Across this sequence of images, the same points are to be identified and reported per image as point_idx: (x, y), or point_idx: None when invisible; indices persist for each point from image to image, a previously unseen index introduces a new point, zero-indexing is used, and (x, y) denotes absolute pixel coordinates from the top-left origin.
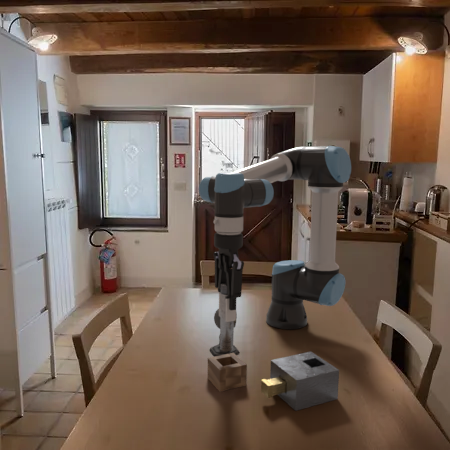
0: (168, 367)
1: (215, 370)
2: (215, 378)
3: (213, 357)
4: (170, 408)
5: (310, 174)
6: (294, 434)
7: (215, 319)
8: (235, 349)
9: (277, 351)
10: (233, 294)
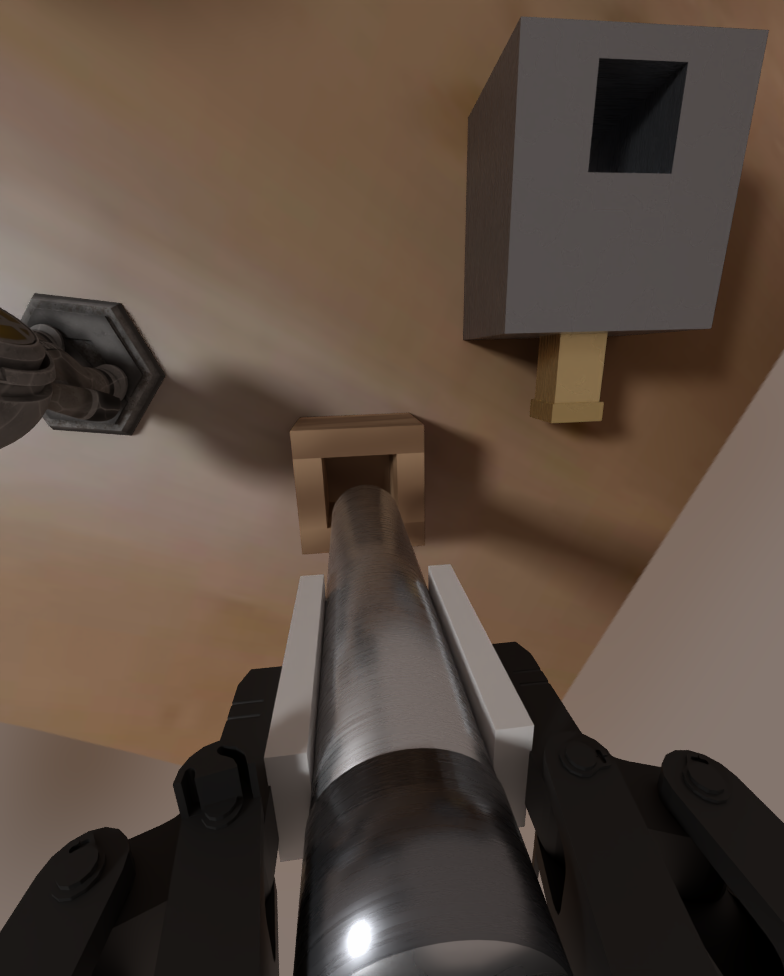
0: (185, 617)
1: None
2: None
3: (307, 531)
4: None
5: None
6: (700, 407)
7: None
8: (101, 321)
9: (146, 82)
10: (738, 905)
